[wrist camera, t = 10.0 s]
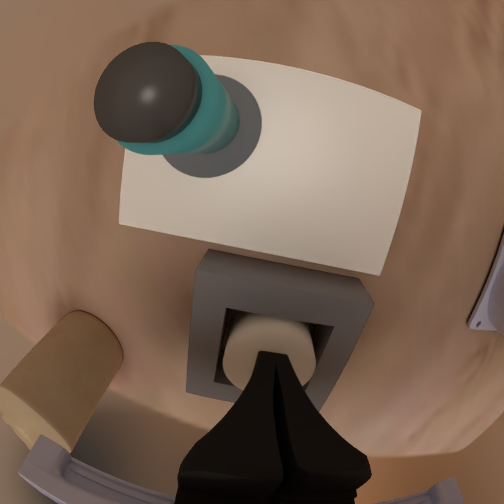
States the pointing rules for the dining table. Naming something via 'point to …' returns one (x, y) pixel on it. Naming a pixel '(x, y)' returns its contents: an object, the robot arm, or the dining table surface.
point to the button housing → (277, 305)
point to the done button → (266, 345)
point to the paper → (286, 170)
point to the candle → (61, 381)
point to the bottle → (164, 102)
